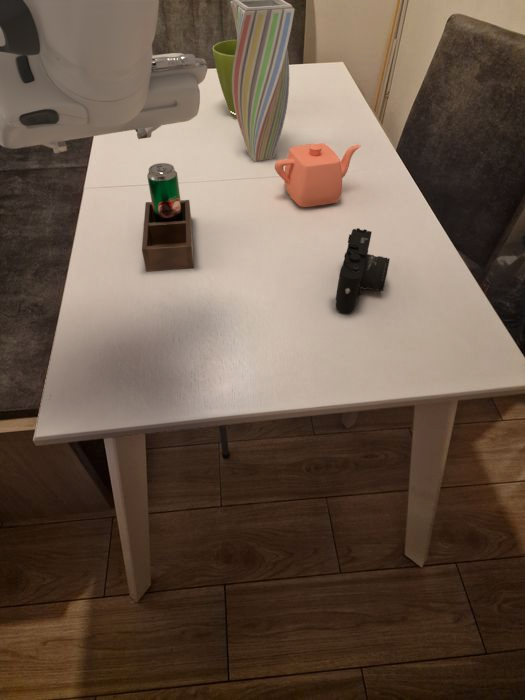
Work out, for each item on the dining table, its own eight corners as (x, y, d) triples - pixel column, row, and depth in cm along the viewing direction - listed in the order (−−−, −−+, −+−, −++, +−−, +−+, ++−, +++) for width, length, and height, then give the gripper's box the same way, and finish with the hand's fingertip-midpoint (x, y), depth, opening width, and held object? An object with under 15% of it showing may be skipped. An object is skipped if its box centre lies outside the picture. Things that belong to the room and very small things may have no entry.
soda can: (162, 240, 88) (151, 178, 79) (153, 227, 91) (142, 165, 82) (188, 233, 90) (180, 171, 81) (178, 220, 93) (170, 159, 84)
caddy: (146, 271, 83) (141, 249, 80) (149, 223, 93) (145, 202, 90) (193, 268, 84) (191, 246, 80) (191, 220, 94) (189, 199, 91)
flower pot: (205, 117, 130) (200, 49, 119) (236, 100, 139) (234, 35, 128) (252, 129, 125) (251, 59, 114) (281, 110, 134) (283, 44, 122)
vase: (298, 163, 112) (308, 7, 90) (242, 172, 108) (239, 12, 87) (276, 140, 120) (281, -8, 99) (224, 147, 117) (217, -4, 96)
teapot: (265, 187, 104) (266, 138, 96) (343, 177, 107) (350, 129, 100) (282, 214, 96) (284, 163, 88) (365, 202, 100) (374, 152, 92)
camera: (376, 323, 74) (386, 281, 68) (330, 314, 76) (336, 273, 70) (385, 269, 84) (395, 228, 78) (344, 262, 85) (351, 222, 79)
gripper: (201, 20, 45) (181, 98, 58) (-41, 44, 39) (-2, 125, 52) (221, 88, 45) (196, 150, 58) (-16, 122, 39) (16, 182, 52)
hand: (101, 138), depth 55 cm, fingers open, 8 cm apart
